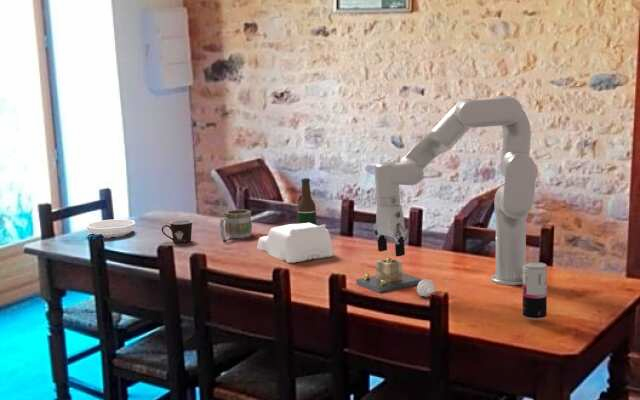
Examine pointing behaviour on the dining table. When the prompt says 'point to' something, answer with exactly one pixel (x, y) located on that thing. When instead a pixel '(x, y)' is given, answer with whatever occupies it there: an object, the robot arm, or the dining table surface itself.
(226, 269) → the dining table surface
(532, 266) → the beverage can
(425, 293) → the garlic bulb
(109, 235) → the bowl
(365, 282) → the pin plate
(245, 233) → the mug
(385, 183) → the robot arm
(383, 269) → the beige patterned cube
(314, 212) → the beer bottle
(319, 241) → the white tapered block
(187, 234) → the coffee mug
